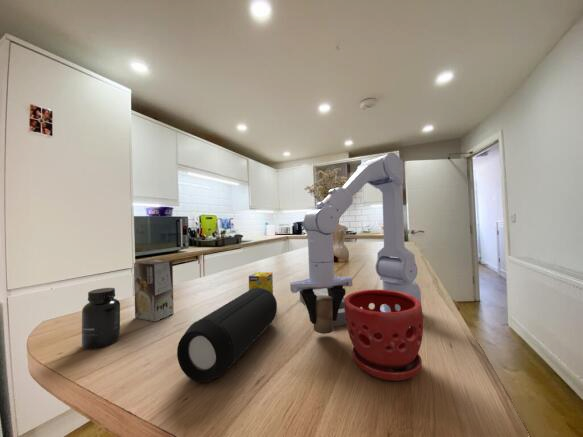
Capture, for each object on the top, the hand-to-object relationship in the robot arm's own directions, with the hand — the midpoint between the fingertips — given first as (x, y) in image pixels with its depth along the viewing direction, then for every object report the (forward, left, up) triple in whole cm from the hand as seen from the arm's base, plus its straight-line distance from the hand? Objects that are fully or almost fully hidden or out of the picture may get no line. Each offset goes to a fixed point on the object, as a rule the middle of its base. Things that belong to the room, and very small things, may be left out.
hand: (323, 320), depth 53 cm
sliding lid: (-8, -21, -1) cm, 22 cm away
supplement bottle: (+49, -14, -4) cm, 51 cm away
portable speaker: (+19, -2, -4) cm, 19 cm away
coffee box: (+42, -28, -4) cm, 51 cm away
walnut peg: (0, 0, -2) cm, 2 cm away
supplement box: (+11, -22, -4) cm, 25 cm away
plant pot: (-6, +13, -4) cm, 15 cm away
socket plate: (-8, -16, -4) cm, 18 cm away
